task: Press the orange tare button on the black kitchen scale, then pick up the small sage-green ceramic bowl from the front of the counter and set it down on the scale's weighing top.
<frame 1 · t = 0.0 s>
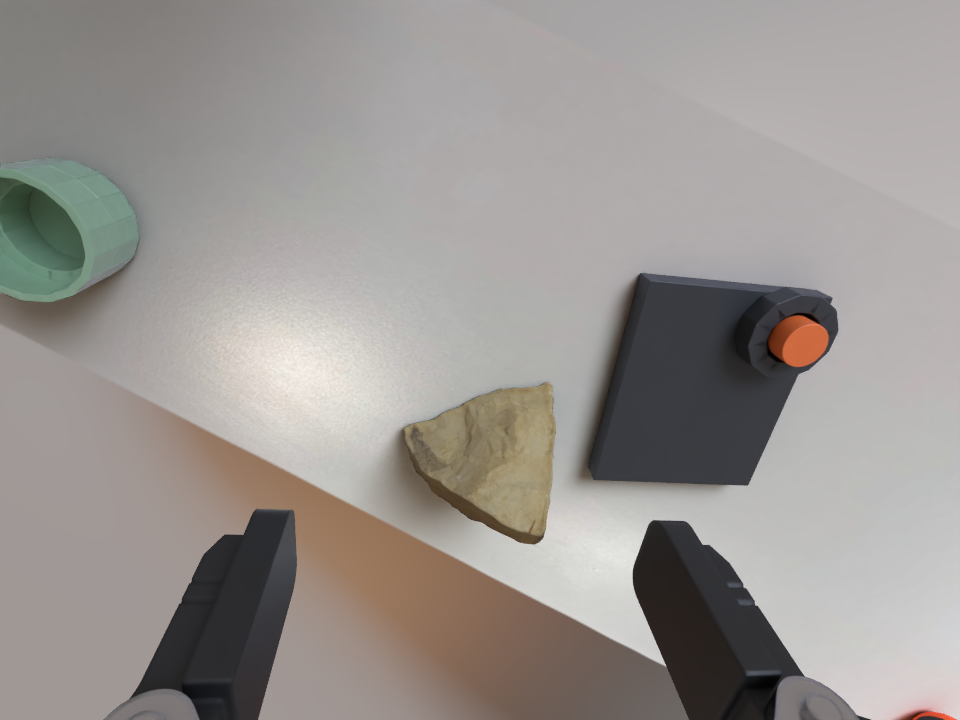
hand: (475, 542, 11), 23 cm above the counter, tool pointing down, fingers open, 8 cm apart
clementine: (915, 716, 64), on the counter
scale: (694, 384, 38), on the counter
bowl: (81, 218, 29), on the counter
tare button: (797, 341, 33), point 4 cm above the counter, slide at 0.1 cm
rock: (475, 417, 37), on the counter
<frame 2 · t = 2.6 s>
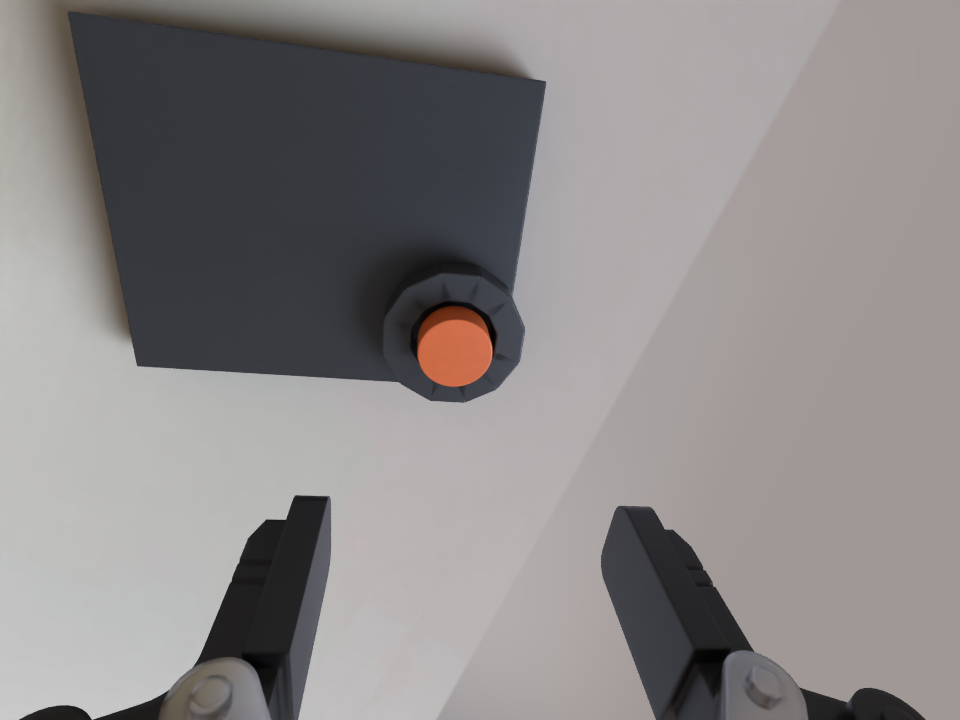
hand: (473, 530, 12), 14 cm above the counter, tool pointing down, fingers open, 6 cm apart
scale: (330, 227, 22), on the counter
tare button: (454, 346, 21), point 4 cm above the counter, slide at 0.1 cm
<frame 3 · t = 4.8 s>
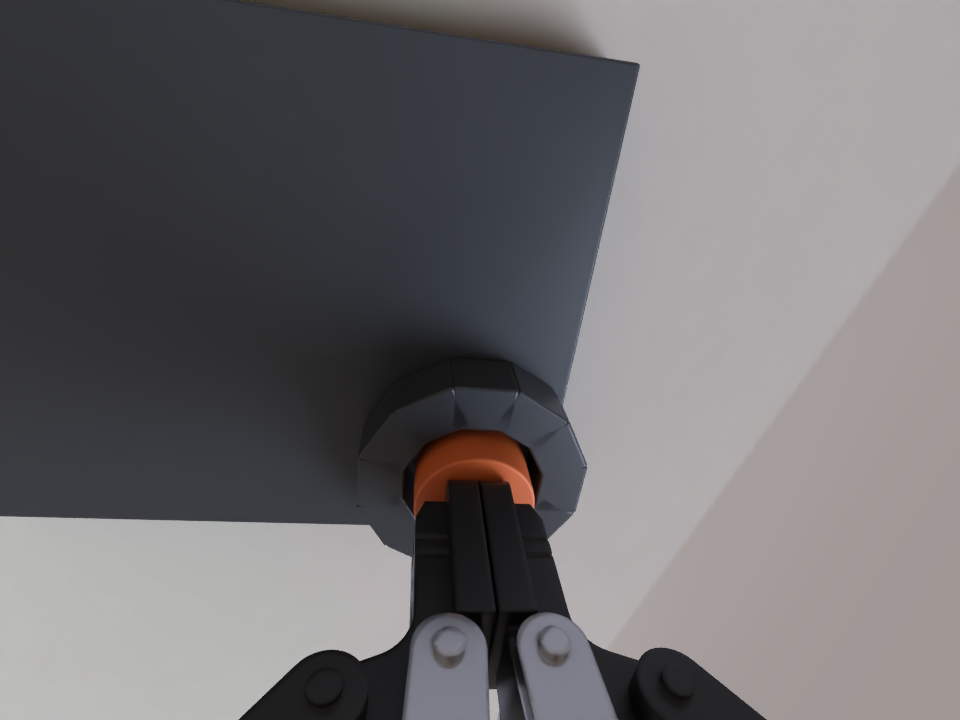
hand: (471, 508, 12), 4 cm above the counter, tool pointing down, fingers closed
scale: (276, 299, 14), on the counter
tare button: (472, 487, 13), point 3 cm above the counter, slide at -0.3 cm, touching gripper
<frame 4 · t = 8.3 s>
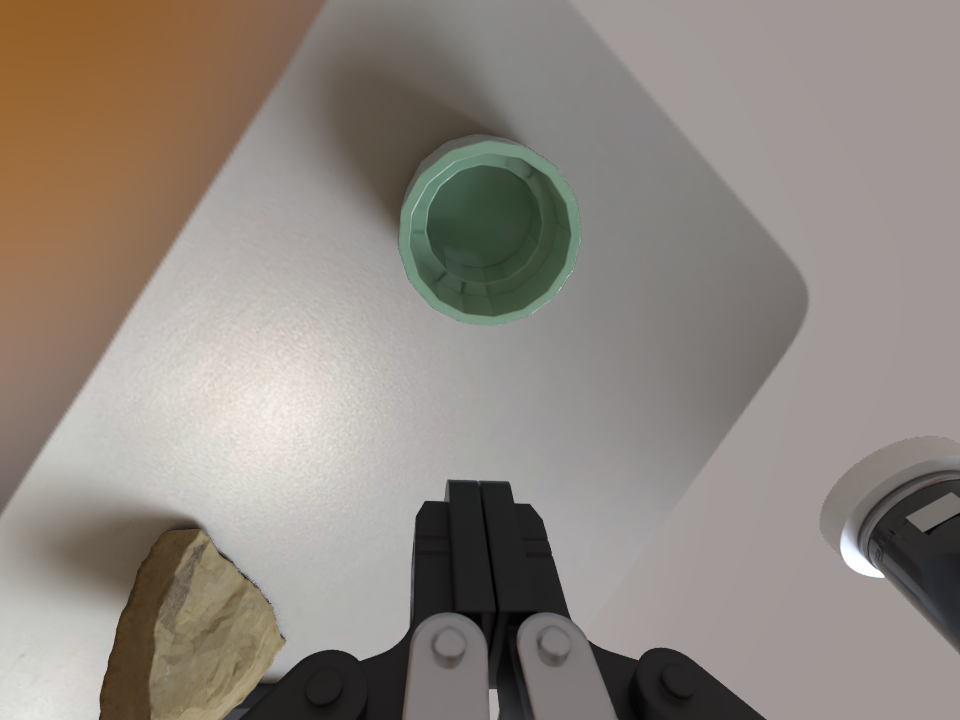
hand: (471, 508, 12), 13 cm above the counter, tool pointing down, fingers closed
bowl: (478, 214, 22), on the counter
rock: (227, 585, 31), on the counter
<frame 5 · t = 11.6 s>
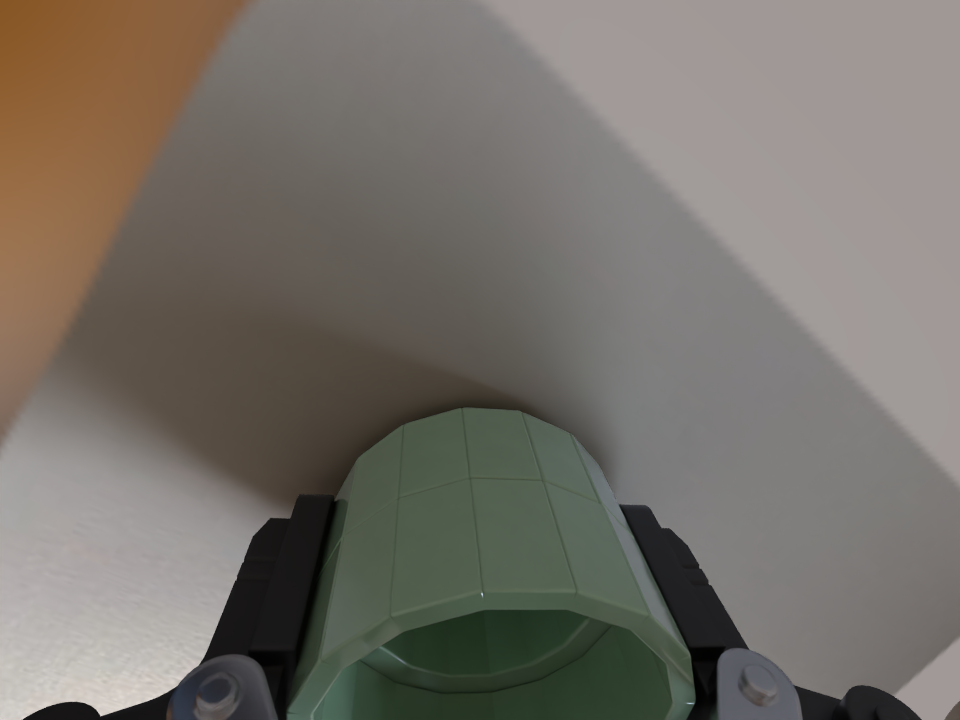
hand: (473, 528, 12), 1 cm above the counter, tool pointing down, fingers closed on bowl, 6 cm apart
bowl: (472, 507, 12), on the counter, touching gripper
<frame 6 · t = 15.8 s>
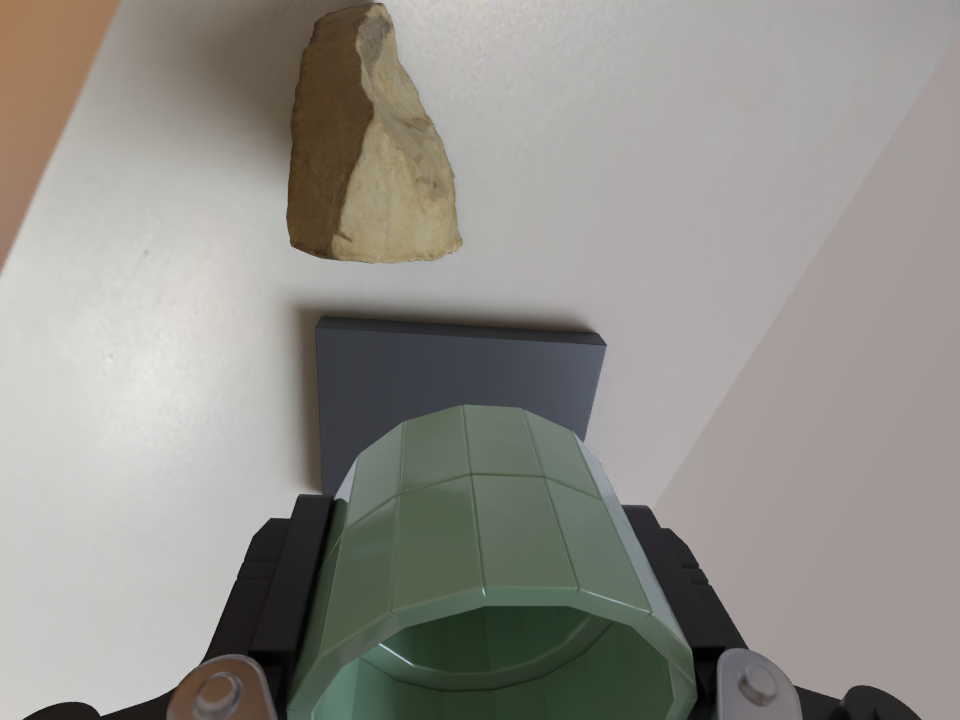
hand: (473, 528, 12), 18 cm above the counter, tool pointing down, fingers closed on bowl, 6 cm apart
scale: (455, 420, 32), on the counter
bowl: (472, 505, 12), point 17 cm above the counter, touching gripper
rock: (399, 137, 25), on the counter
when the fingers open (2 cm above the counter, at t = 20.4 s): bowl stays where it is, resting on scale.
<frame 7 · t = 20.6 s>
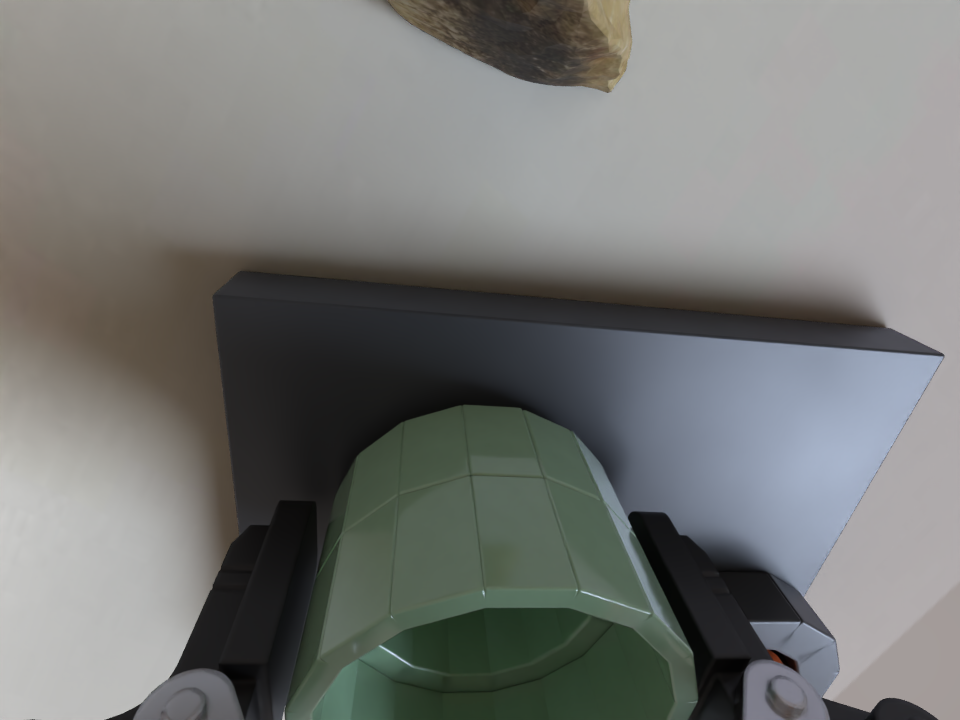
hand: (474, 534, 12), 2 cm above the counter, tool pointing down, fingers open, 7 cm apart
scale: (545, 510, 15), on the counter
bowl: (472, 505, 12), point 2 cm above the counter, touching scale
tare button: (744, 706, 14), point 4 cm above the counter, slide at 0.1 cm
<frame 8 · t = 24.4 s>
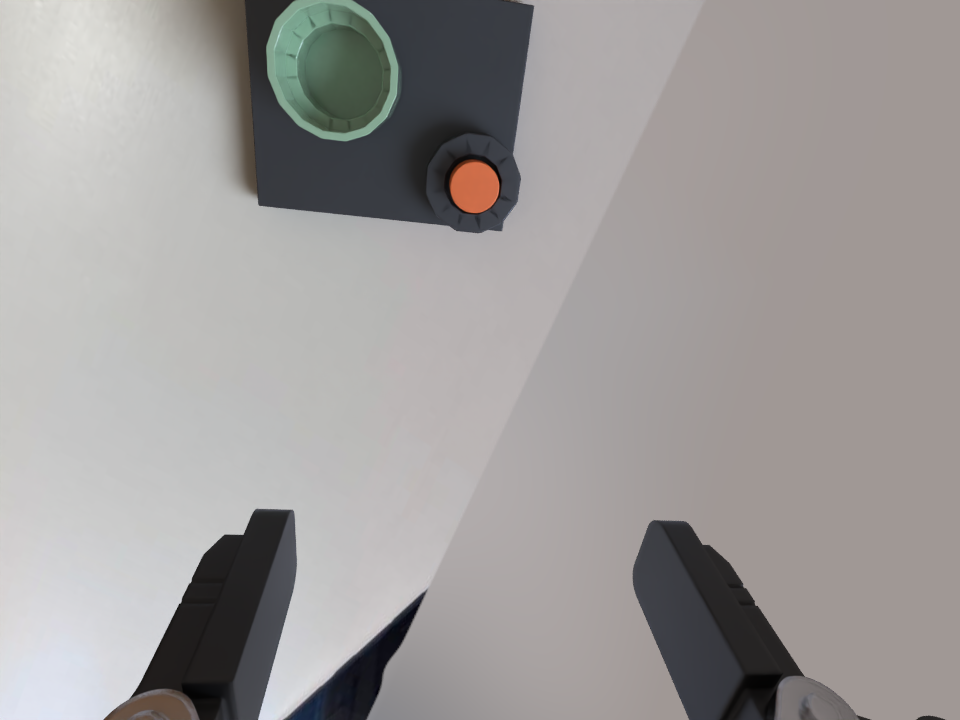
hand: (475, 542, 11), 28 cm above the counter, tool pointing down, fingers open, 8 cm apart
scale: (390, 110, 32), on the counter
bowl: (347, 76, 30), point 2 cm above the counter, touching scale
tare button: (473, 186, 31), point 4 cm above the counter, slide at 0.1 cm
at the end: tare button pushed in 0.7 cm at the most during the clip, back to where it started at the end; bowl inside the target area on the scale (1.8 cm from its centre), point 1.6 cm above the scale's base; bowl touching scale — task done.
